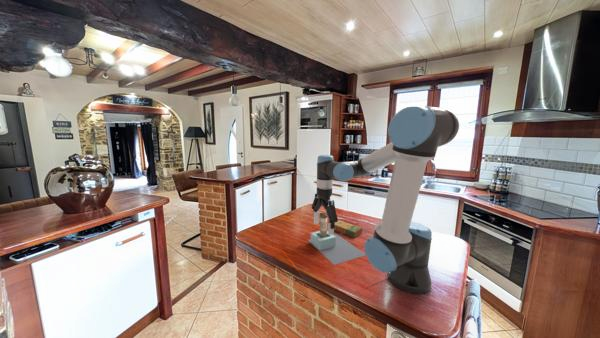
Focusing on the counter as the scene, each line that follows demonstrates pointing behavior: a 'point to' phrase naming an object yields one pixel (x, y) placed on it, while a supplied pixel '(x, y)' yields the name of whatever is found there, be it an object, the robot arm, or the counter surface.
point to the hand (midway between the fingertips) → (323, 228)
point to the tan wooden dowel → (323, 225)
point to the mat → (341, 251)
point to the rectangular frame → (323, 241)
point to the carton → (347, 229)
